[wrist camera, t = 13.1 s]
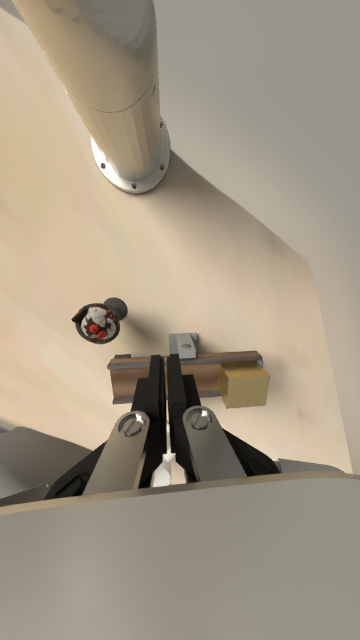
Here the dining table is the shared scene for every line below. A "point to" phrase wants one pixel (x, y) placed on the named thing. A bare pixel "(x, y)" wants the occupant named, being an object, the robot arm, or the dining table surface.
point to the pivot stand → (183, 345)
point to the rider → (243, 384)
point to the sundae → (100, 320)
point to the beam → (131, 369)
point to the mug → (164, 466)
